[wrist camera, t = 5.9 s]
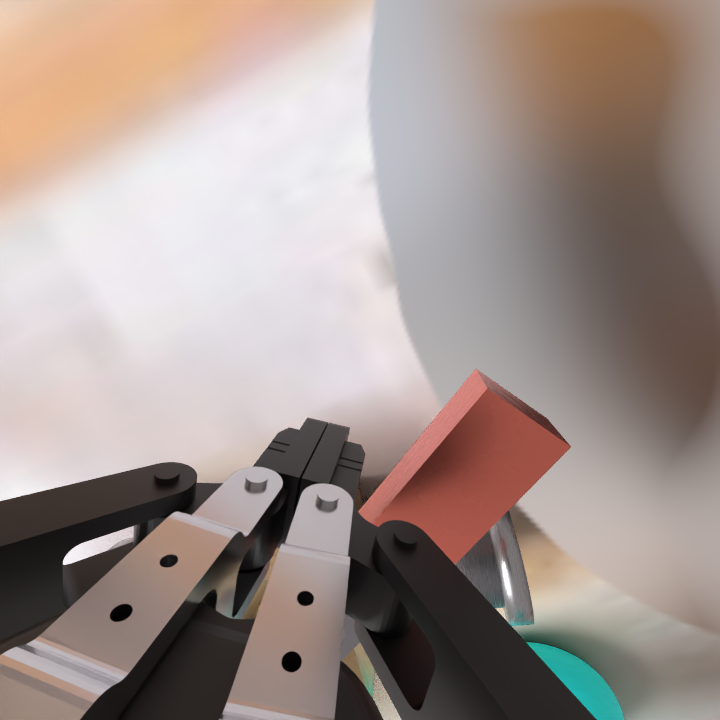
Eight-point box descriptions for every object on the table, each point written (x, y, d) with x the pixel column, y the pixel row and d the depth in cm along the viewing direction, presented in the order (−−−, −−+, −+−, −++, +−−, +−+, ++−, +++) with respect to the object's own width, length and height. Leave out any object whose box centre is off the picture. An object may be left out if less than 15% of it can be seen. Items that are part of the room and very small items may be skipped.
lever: (284, 725, 16) (265, 794, 14) (198, 670, 16) (166, 731, 14) (568, 432, 12) (603, 471, 9) (450, 349, 11) (459, 369, 9)
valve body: (139, 509, 25) (23, 614, 17) (490, 457, 20) (533, 565, 13) (176, 598, 26) (84, 729, 19) (510, 565, 22) (558, 717, 15)
